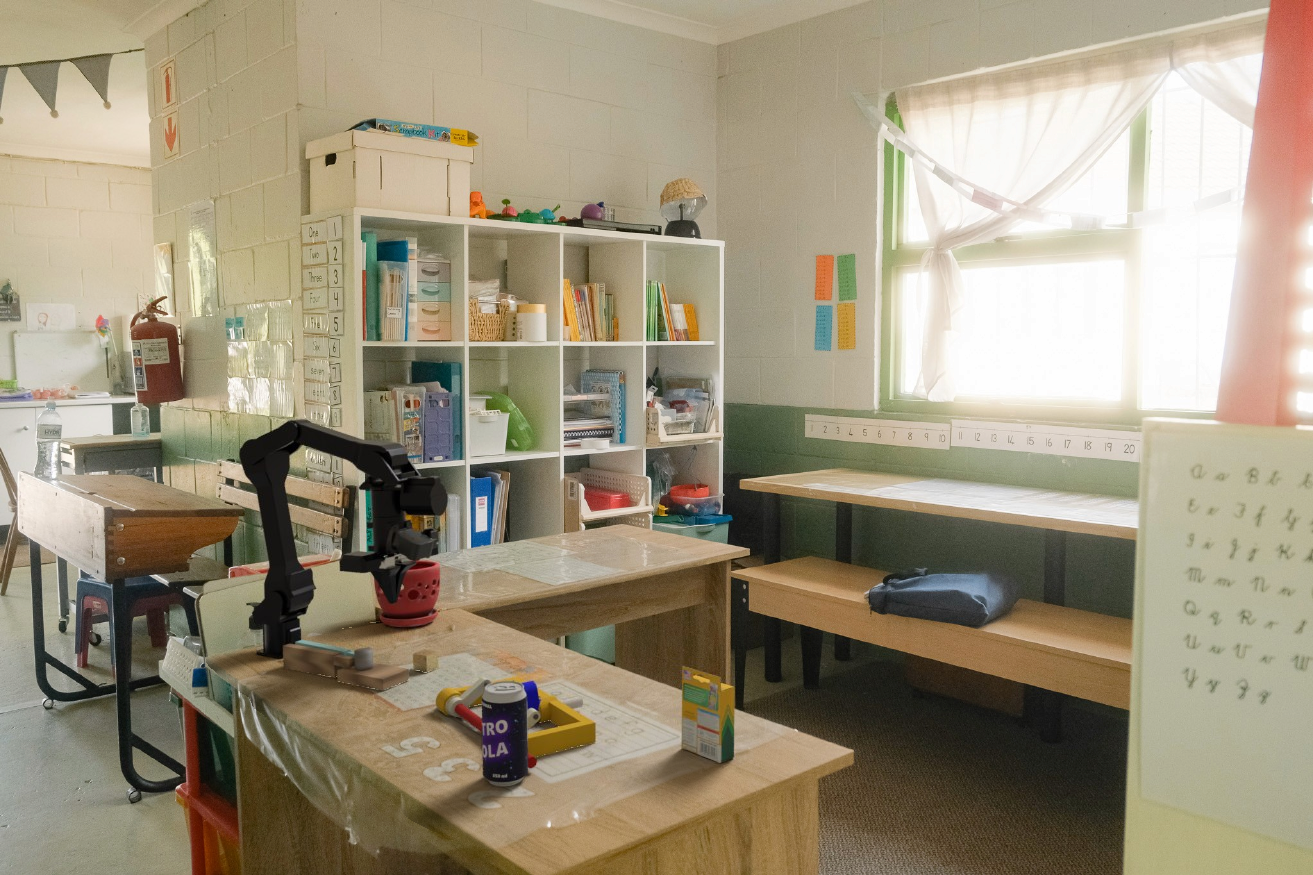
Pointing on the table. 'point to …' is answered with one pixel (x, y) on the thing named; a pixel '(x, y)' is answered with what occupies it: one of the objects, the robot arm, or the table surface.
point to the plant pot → (413, 597)
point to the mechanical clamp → (539, 708)
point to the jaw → (326, 648)
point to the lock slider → (425, 660)
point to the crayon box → (707, 715)
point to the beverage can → (504, 733)
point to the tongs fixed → (355, 670)
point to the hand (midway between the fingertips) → (392, 603)
